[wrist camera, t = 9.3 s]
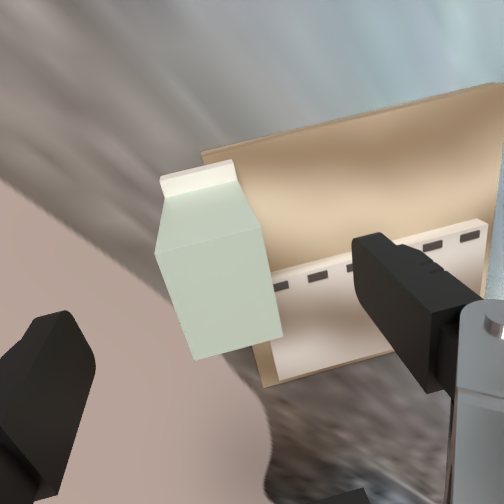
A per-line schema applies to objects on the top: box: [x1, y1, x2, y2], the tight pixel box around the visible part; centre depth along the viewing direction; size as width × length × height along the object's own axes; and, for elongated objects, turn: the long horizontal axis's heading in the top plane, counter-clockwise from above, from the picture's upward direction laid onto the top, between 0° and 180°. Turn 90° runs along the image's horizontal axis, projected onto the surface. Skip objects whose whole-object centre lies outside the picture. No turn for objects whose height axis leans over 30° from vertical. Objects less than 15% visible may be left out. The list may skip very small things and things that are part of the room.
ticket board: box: [201, 83, 504, 388], centre depth 19 cm, size 14×14×2 cm
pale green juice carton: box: [155, 159, 284, 361], centre depth 13 cm, size 5×3×6 cm, turn 12°
